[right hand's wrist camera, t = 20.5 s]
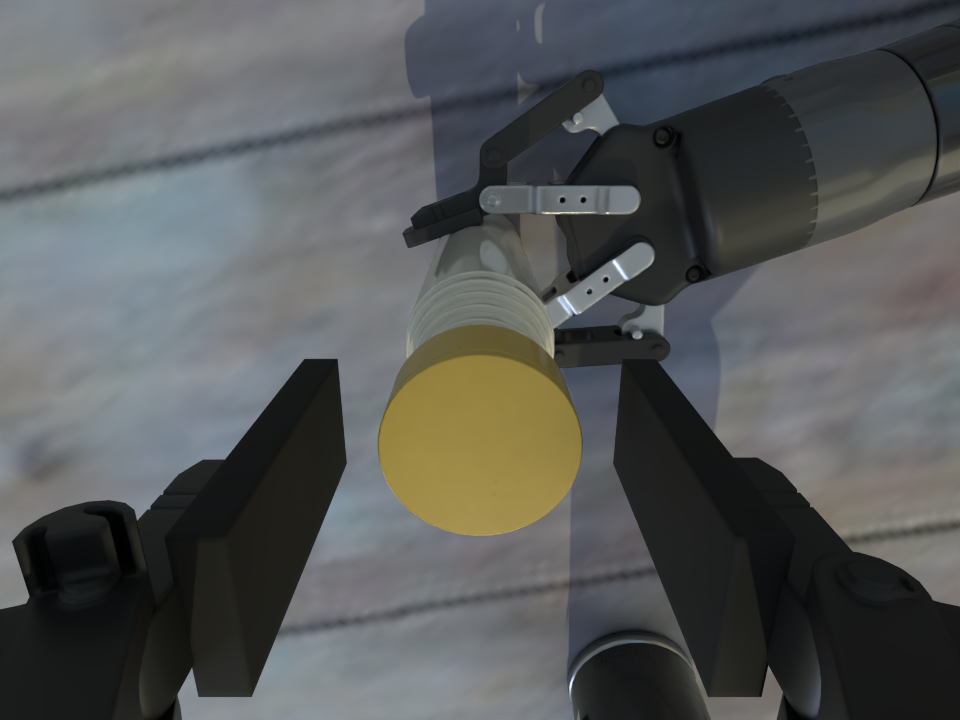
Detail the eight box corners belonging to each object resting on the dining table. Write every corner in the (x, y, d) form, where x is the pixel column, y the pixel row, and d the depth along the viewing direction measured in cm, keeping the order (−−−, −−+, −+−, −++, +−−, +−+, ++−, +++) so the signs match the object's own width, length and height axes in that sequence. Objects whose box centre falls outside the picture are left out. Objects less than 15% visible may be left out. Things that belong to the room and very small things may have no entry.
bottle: (427, 270, 35) (344, 483, 14) (458, 194, 34) (418, 298, 12) (501, 300, 36) (533, 549, 14) (533, 227, 34) (624, 380, 13)
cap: (388, 321, 14) (373, 352, 12) (575, 325, 14) (591, 356, 12) (394, 483, 15) (380, 534, 13) (562, 486, 15) (574, 538, 13)
